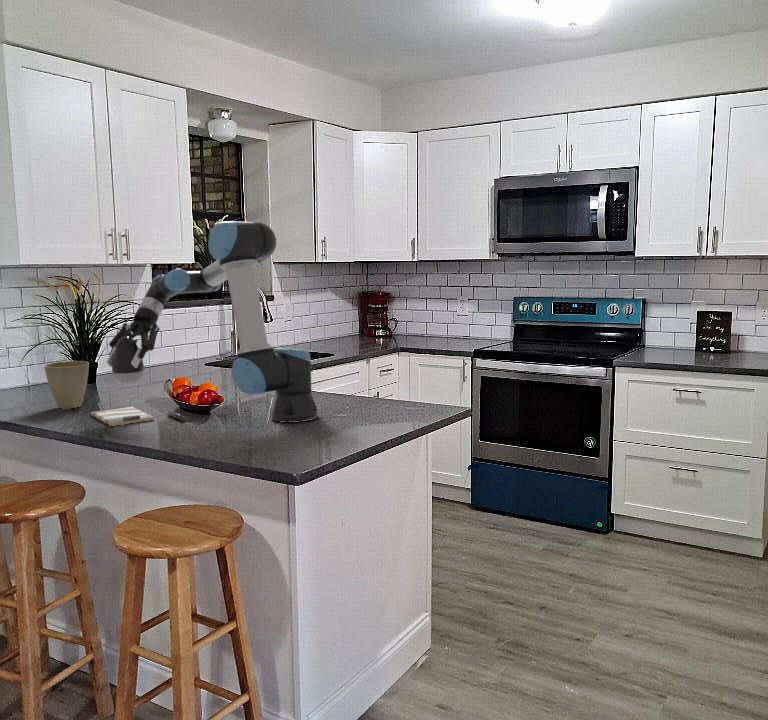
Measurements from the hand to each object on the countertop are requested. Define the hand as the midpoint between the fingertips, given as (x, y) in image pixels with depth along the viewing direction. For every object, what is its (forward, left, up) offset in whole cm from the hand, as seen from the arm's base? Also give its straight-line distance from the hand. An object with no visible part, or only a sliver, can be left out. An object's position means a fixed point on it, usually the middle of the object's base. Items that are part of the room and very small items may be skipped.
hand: (121, 365), depth 247 cm
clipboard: (0, +1, -18) cm, 18 cm away
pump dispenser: (+2, -3, -6) cm, 7 cm away
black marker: (-13, -13, -18) cm, 26 cm away
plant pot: (+31, +10, -18) cm, 37 cm away
